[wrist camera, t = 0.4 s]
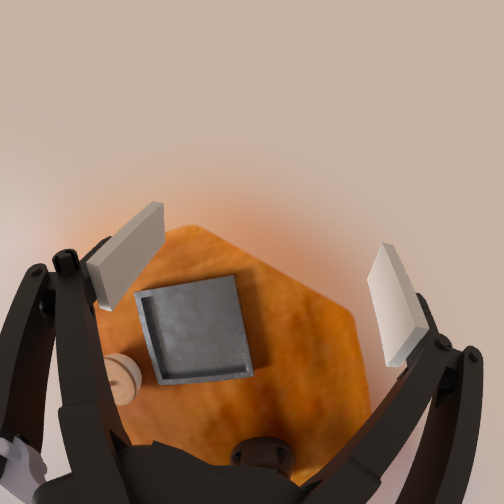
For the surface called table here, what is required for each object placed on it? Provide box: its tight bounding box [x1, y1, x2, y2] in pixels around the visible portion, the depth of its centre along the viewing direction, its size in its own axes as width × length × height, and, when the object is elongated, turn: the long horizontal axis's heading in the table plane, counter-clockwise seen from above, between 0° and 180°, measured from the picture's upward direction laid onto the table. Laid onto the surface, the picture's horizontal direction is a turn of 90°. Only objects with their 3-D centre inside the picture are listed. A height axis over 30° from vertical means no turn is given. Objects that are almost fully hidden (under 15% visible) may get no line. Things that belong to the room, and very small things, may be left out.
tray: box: [134, 274, 254, 385], centre depth 49 cm, size 19×19×3 cm
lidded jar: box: [103, 353, 142, 406], centre depth 46 cm, size 11×11×9 cm
